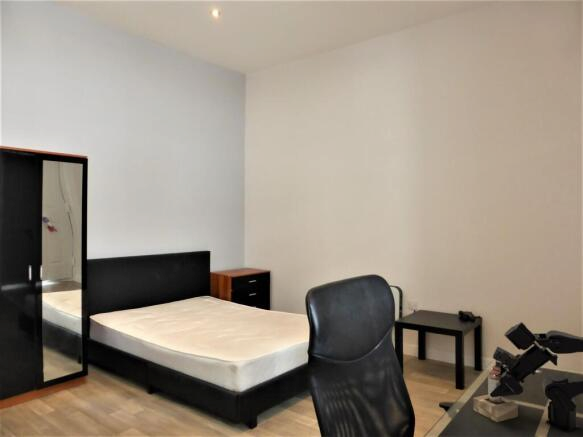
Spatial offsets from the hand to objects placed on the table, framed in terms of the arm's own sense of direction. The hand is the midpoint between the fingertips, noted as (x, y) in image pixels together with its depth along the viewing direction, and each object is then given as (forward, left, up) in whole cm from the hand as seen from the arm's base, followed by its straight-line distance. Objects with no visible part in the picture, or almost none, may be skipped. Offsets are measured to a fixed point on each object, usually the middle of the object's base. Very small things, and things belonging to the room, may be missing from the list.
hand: (491, 390), depth 133 cm
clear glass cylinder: (-1, -1, -7) cm, 7 cm away
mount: (-1, -1, -7) cm, 7 cm away
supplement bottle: (+10, -17, -7) cm, 21 cm away
